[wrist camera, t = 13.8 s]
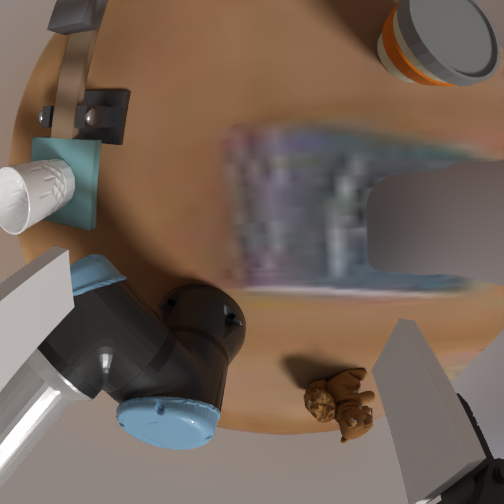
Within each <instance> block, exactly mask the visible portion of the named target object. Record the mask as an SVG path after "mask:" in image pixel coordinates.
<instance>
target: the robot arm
mask: <svg viewBox="0 0 504 504" xmlns="http://www.w3.org/2000/svg"><path fill="white" fill-rule="evenodd" d="M245 332H246V322H245V318H244V315H243V313H242V311H241V309H240V307H239V306H238V305H237V303H236V302H235V301H234V300H233V299H232V298H230V297H229V296H228V295H226V294H225V293H223V292H221V291H219V290H217V289H215V288H212V287H209V286H204V285H186V286H182V287H179V288H176V289H174V290H173V291H171V292H170V293H169V294H167V296H166V297H165V298H164V299H163V301H162V303H161V304H160V306H159V308H158V310H157V313H155V311H154V310H153V309H152V308H151V307H150V306H149V305H148V304H147V303H146V301H145V300H144V299H143V298H142V297H141V296H140V295H139V294H138V292H137V291H136V290H135V289H134V288H133V287H132V285H131V284H130V283H129V282H128V281H127V277H126V276H125V275H122V274H121V273H120V272H119V271H118V270H117V269H116V267H115V266H114V265H113V264H112V263H111V262H110V261H109V260H108V259H107V258H106V257H105V256H103V255H100V254H91V255H88V256H86V257H84V258H82V259H80V260H78V261H76V262H75V263H73V264H71V265H70V263H69V250H68V249H64V248H61V247H57V246H54V247H52V248H51V249H49V250H48V251H46V252H45V253H43V254H42V255H40V256H39V257H37V258H36V259H34V260H33V261H31V262H30V263H28V264H27V265H26V266H24V267H23V268H21V269H20V270H19V271H17V272H16V273H15V274H13V275H12V276H10V277H9V278H8V279H6V280H5V281H3V282H2V283H1V284H0V488H1V487H2V485H3V484H4V483H5V482H6V481H7V479H8V478H9V476H11V474H12V473H13V472H14V471H15V469H16V468H17V467H18V466H19V464H20V463H21V462H22V461H23V460H24V458H25V457H26V456H27V455H28V454H29V452H30V451H31V450H32V449H33V447H34V446H35V445H36V444H37V443H38V441H39V440H40V439H41V438H42V437H43V436H44V435H45V433H46V432H47V431H48V430H49V429H50V427H51V426H52V425H53V424H54V423H55V422H56V420H57V419H58V418H59V417H60V416H61V415H62V413H63V412H64V411H65V410H66V409H67V408H68V406H69V405H70V404H71V403H72V402H73V401H76V400H77V401H92V400H93V399H94V398H95V397H96V396H97V394H98V393H99V392H100V391H101V390H104V391H105V392H106V393H108V394H109V395H110V396H111V397H112V398H113V399H114V400H115V401H117V402H118V403H119V404H120V405H119V406H118V407H117V411H116V412H117V415H116V417H117V420H118V422H119V424H120V426H121V427H122V428H123V429H124V430H125V431H126V432H127V433H129V434H130V435H131V436H133V437H135V438H137V439H139V440H141V441H143V442H145V443H148V444H151V445H154V446H158V447H162V448H168V449H177V450H183V449H192V448H197V447H200V446H202V445H204V444H206V443H207V442H209V441H210V440H211V439H212V437H213V435H214V433H215V429H216V426H217V422H218V420H219V419H220V412H221V406H222V400H223V394H224V388H225V382H226V376H227V370H228V365H229V364H230V362H231V361H232V360H233V359H234V357H235V356H236V355H237V353H238V352H239V350H240V349H241V347H242V345H243V342H244V339H245ZM372 372H373V375H374V378H375V381H376V384H377V387H378V391H379V394H380V397H381V400H382V403H383V407H384V410H385V413H386V417H387V419H388V423H389V427H390V430H391V434H392V437H393V441H394V445H395V449H396V452H397V456H398V460H399V464H400V467H401V472H402V476H403V480H404V484H405V489H406V493H407V498H408V502H409V504H425V503H428V502H430V501H431V500H433V499H434V498H436V497H437V496H439V495H441V499H442V500H441V501H440V502H438V503H437V504H504V459H500V458H498V459H494V458H493V456H492V454H491V452H490V449H489V447H488V445H487V443H486V440H485V438H484V436H483V434H482V431H481V429H480V427H479V426H477V421H476V419H475V417H473V413H472V411H471V409H470V407H469V405H468V403H467V402H466V401H465V400H464V399H463V398H462V397H461V396H460V394H458V393H456V392H455V390H454V388H453V387H452V385H451V383H450V381H449V379H448V377H447V375H446V374H445V372H444V370H443V368H442V366H441V365H440V363H439V361H438V359H437V357H436V356H435V354H434V352H433V351H432V349H431V347H430V345H429V344H428V342H427V340H426V339H425V337H424V335H423V334H422V332H421V330H420V329H419V327H418V326H417V324H416V322H415V321H413V320H406V319H399V320H398V322H397V324H396V326H395V328H394V330H393V332H392V334H391V336H390V338H389V340H388V342H387V344H386V345H385V347H384V349H383V351H382V353H381V355H380V356H379V358H378V360H377V362H376V364H375V365H374V367H373V369H372Z"/></svg>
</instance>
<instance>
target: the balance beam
mask: <svg viewBox="0 0 504 504" xmlns="http://www.w3.org/2000/svg"><path fill="white" fill-rule="evenodd" d="M107 3H108V0H57V2H56V4H55V7H54V10H53V13H52V16H51V19H50V22H49V25H48V29H47V30H50V31H53V32H57V33H60V34H63V35H68V34H70V35H69V39H68V43H67V46H66V50H65V54H64V59H63V63H62V67H61V72H60V77H59V82H58V88H57V94H56V100H55V106H54V113H53V121H52V130H51V137H33V138H32V150H31V162H33V161H40V160H51V159H60V160H64V161H65V162H66V163H67V164H68V165H69V166H70V167H71V169H72V172H73V174H74V177H75V191H74V194H73V198H72V199H71V200H70V201H69V203H68V204H67V205H65V206H64V207H62V208H60V209H58V210H57V211H55V212H54V213H52V214H51V215H49V216H47V217H46V218H44V219H43V220H46V221H51V222H55V223H59V224H63V225H67V226H72V227H76V228H80V229H85V230H89V231H91V230H93V229H94V228H96V206H97V185H98V170H99V159H100V149H101V140H95V139H80V138H78V134H79V128H75V121H76V114H77V107H78V105H83V98H84V93H85V87H86V82H87V77H88V72H89V67H90V63H91V59H92V54H93V50H94V46H95V42H96V39H97V35H98V32H99V28H100V25H101V21H102V18H103V15H104V12H105V9H106V6H107Z"/></svg>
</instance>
